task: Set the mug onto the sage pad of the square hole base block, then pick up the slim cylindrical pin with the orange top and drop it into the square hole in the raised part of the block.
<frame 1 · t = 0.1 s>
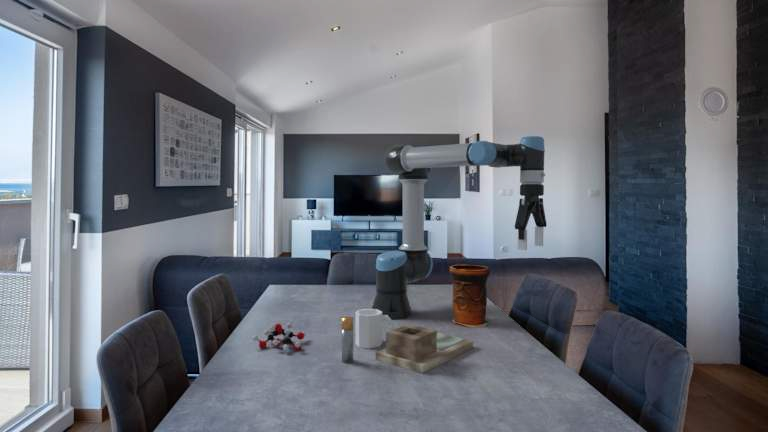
hand: (530, 247, 154), 28 cm above the table, fingers open, 13 cm apart
cylindrical pin: (347, 360, 128), on the table
vessel: (469, 322, 167), on the table
mug: (375, 344, 143), on the table
square hole base block: (425, 353, 134), on the table
molecular model: (284, 346, 141), on the table
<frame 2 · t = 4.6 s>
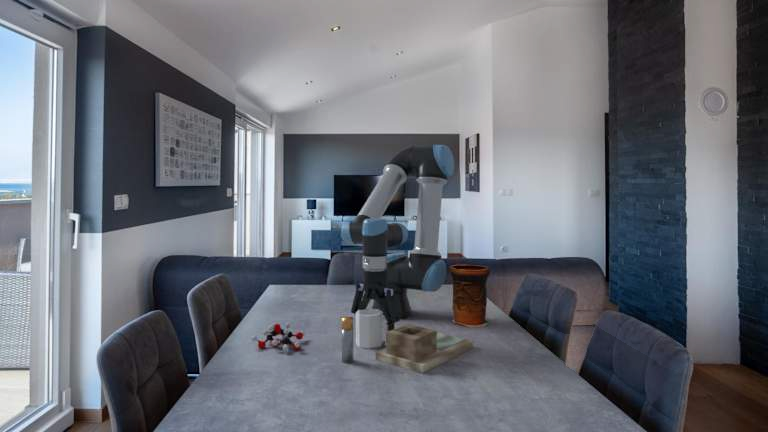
hand: (374, 340, 142), 1 cm above the table, fingers open, 11 cm apart
mug: (375, 344, 142), on the table, touching gripper
everything else where it was.
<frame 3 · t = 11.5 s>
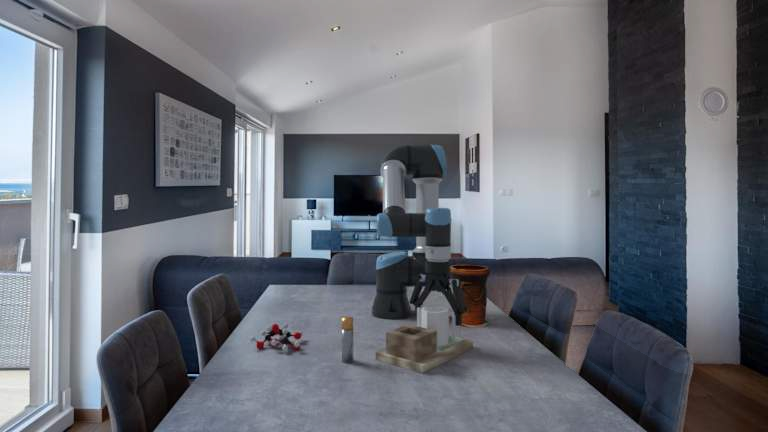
hand: (437, 331, 138), 5 cm above the table, fingers open, 12 cm apart
mug: (440, 342, 138), point 2 cm above the table, touching square hole base block
everything else where it was.
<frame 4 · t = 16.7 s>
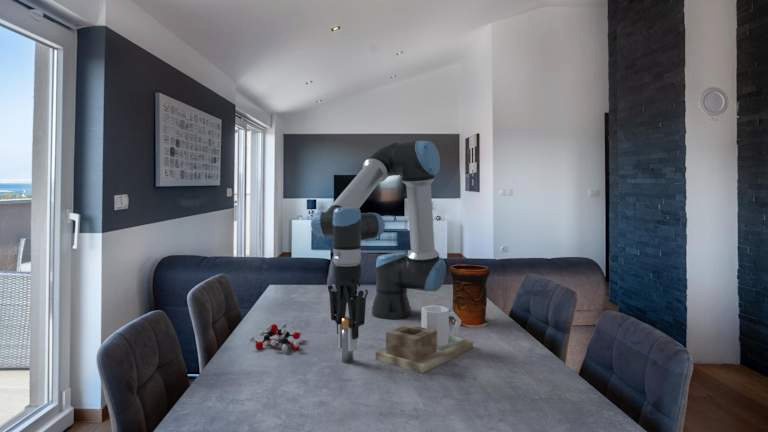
hand: (347, 348, 128), 4 cm above the table, fingers closed on cylindrical pin, 3 cm apart
cylindrical pin: (347, 360, 128), on the table, touching gripper
when the fingers open (10 cm above the table, at t = 21.8 s): cylindrical pin drops 4 cm, resting on square hole base block.
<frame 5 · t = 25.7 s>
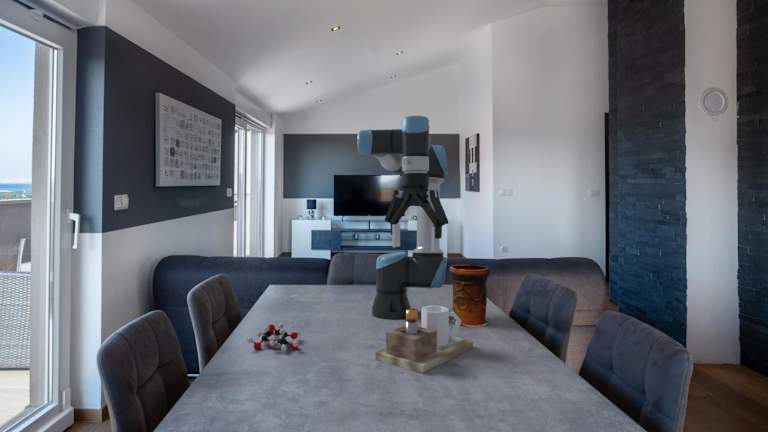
hand: (415, 248, 130), 31 cm above the table, fingers open, 13 cm apart
cylindrical pin: (411, 352, 128), point 2 cm above the table, touching square hole base block
at the end: cylindrical pin 0.0 cm from the target spot, point 2.0 cm above the table; mug inside the target area (1.2 cm from its centre), point 2.0 cm above the table; mug tilted 0° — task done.
